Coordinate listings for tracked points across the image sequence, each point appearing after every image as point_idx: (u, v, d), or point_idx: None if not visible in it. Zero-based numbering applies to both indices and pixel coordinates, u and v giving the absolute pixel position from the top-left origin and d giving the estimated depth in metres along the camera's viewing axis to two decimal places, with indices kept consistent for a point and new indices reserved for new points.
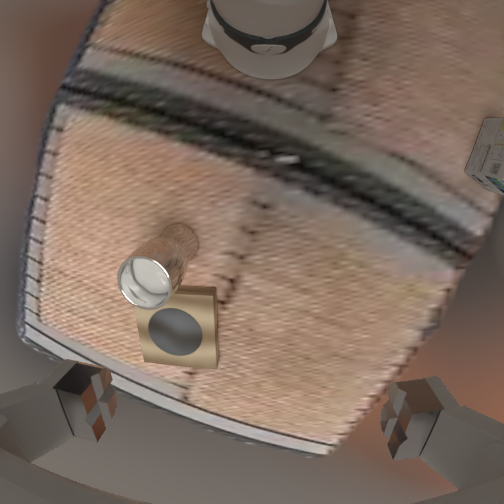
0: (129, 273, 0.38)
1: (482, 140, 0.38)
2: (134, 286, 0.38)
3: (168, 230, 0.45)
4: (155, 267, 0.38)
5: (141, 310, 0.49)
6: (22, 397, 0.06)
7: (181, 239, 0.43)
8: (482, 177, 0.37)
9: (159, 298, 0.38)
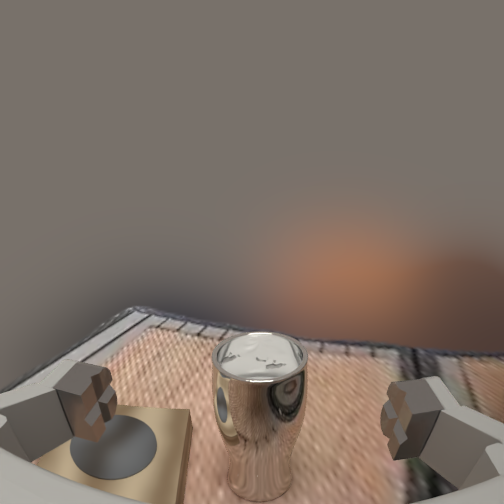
0: (252, 366, 0.25)
1: None
2: (233, 369, 0.25)
3: None
4: None
5: (157, 414, 0.30)
6: (22, 397, 0.06)
7: (285, 463, 0.22)
8: None
9: None
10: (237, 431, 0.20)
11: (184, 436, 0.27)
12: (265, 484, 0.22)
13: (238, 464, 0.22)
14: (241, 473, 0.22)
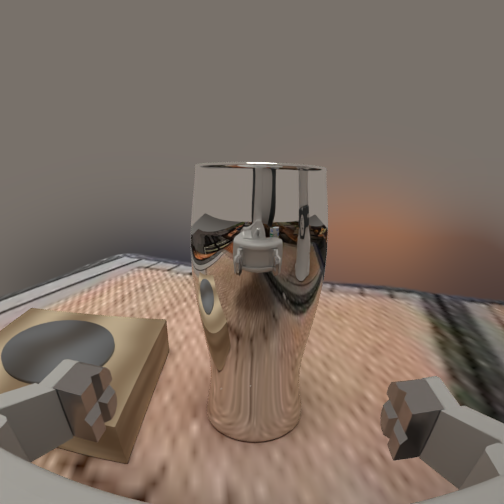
0: None
1: None
2: None
3: None
4: None
5: (123, 322, 0.24)
6: (22, 397, 0.06)
7: (295, 367, 0.17)
8: None
9: None
10: (221, 272, 0.14)
11: (153, 344, 0.22)
12: (262, 406, 0.16)
13: (222, 362, 0.16)
14: (226, 383, 0.16)
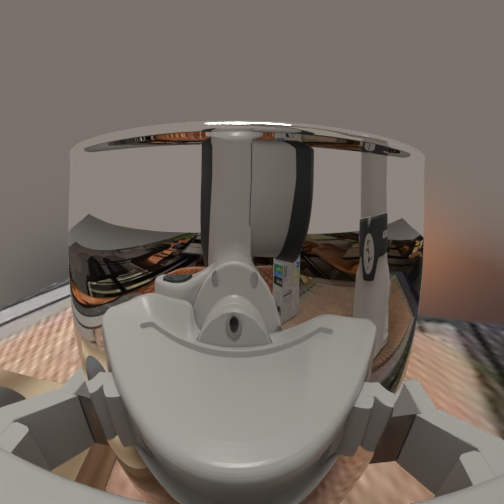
0: None
1: None
2: None
3: None
4: None
5: None
6: (43, 404, 0.06)
7: None
8: None
9: None
10: (137, 456, 0.04)
11: None
12: None
13: None
14: None
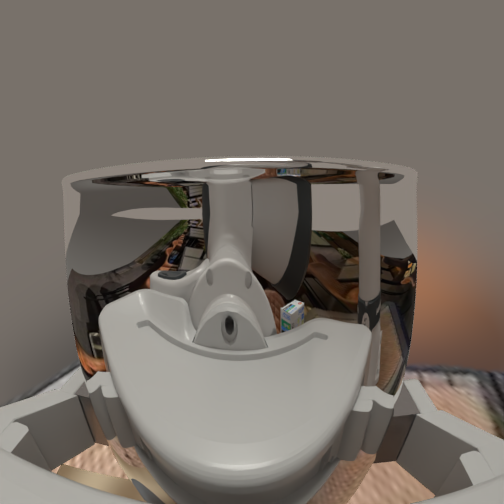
0: None
1: None
2: None
3: None
4: None
5: None
6: (43, 404, 0.06)
7: None
8: None
9: None
10: (141, 471, 0.04)
11: None
12: None
13: None
14: None
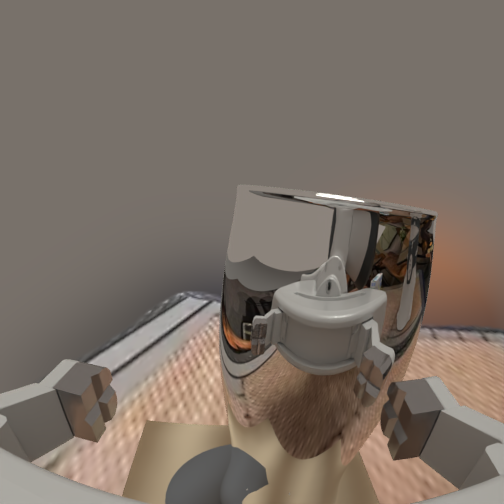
0: None
1: None
2: None
3: None
4: None
5: None
6: (22, 397, 0.06)
7: (346, 467, 0.11)
8: None
9: None
10: (279, 373, 0.08)
11: (361, 460, 0.16)
12: None
13: (254, 467, 0.10)
14: (256, 487, 0.10)
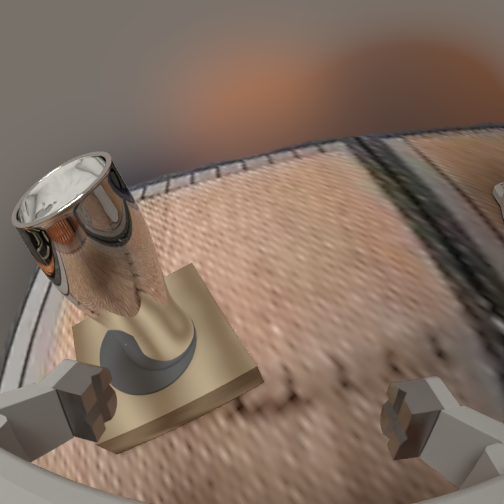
0: None
1: None
2: None
3: None
4: None
5: None
6: (22, 397, 0.06)
7: (165, 308, 0.21)
8: None
9: None
10: (74, 292, 0.15)
11: (207, 290, 0.28)
12: (159, 343, 0.21)
13: (114, 332, 0.20)
14: (126, 341, 0.21)
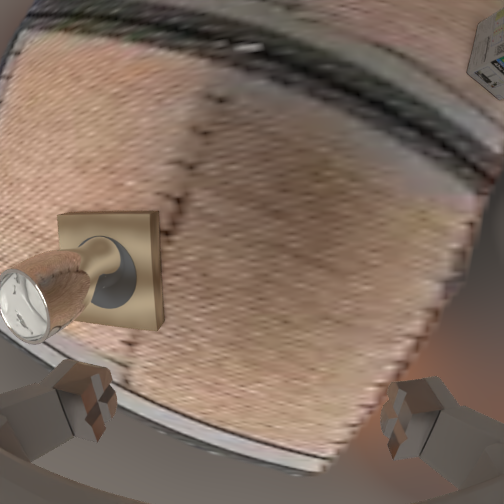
0: (19, 294, 0.24)
1: (480, 39, 0.27)
2: (26, 311, 0.24)
3: (84, 243, 0.32)
4: None
5: (65, 242, 0.35)
6: (22, 397, 0.06)
7: (94, 254, 0.30)
8: (488, 68, 0.26)
9: None
10: (79, 311, 0.25)
11: (83, 215, 0.34)
12: (110, 266, 0.32)
13: (97, 292, 0.30)
14: (103, 286, 0.32)
